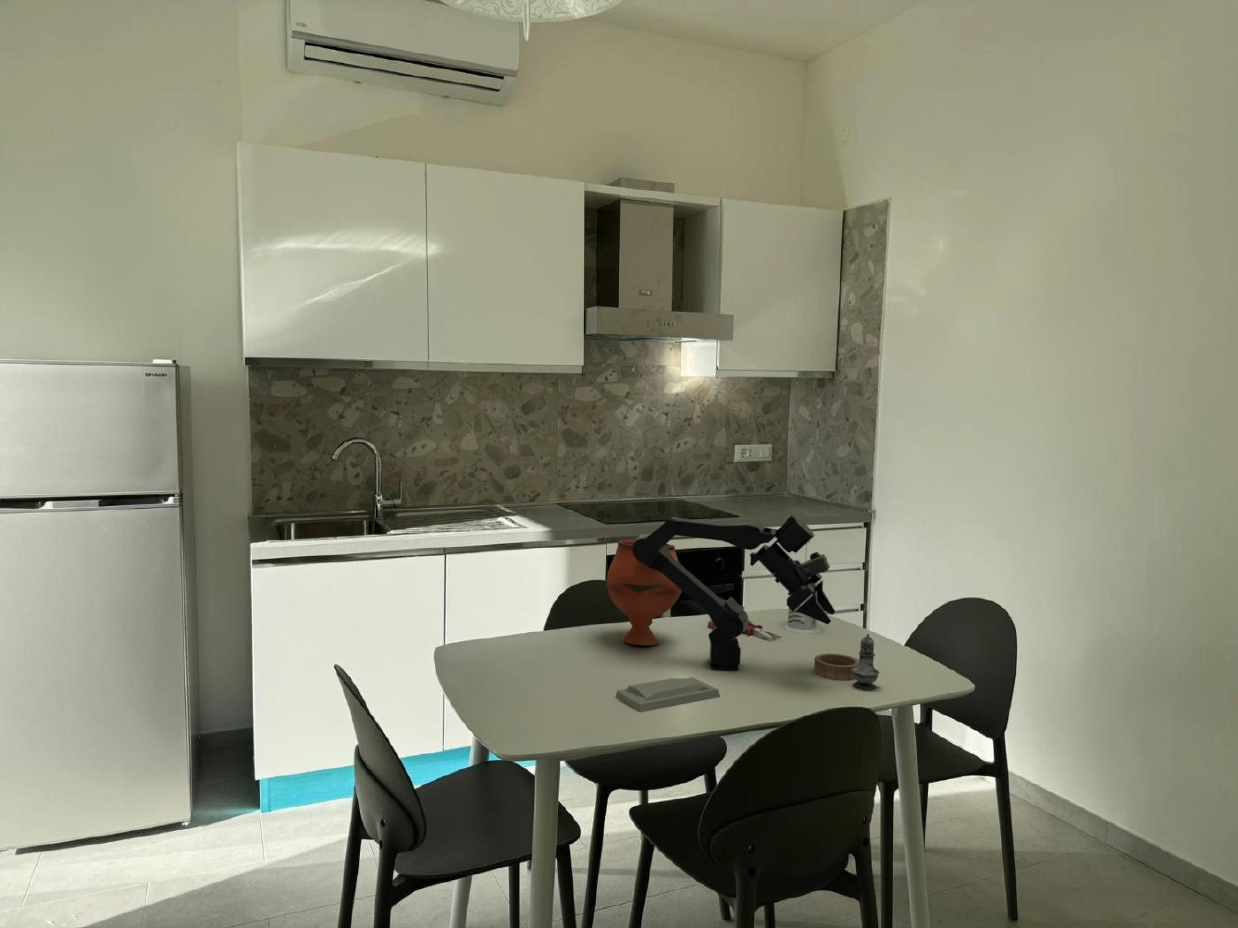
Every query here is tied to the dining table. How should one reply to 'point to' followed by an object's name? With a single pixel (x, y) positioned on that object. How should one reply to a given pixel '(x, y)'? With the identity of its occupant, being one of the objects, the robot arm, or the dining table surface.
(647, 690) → the grey stepped rectangular block
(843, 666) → the shaker socket
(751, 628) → the pliers
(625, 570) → the goblet
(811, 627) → the french press
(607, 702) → the dining table surface
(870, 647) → the salt shaker
